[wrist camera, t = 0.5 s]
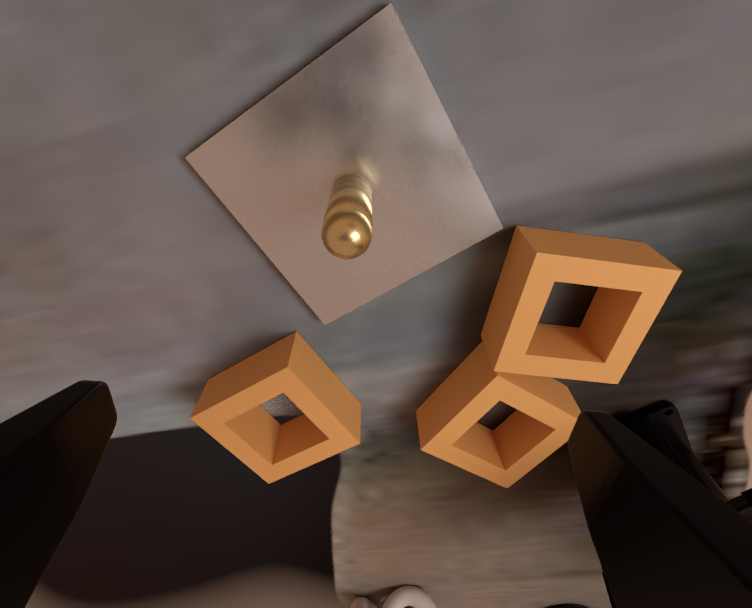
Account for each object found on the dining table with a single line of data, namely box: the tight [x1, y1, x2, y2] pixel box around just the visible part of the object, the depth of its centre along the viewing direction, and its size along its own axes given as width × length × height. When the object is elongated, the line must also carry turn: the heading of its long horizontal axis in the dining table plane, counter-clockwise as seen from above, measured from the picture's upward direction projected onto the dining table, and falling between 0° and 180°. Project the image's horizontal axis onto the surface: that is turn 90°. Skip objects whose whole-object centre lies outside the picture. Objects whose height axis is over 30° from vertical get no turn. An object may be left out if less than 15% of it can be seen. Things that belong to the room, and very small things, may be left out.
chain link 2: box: [481, 225, 682, 384], centre depth 21 cm, size 6×6×3 cm
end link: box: [190, 331, 361, 484], centre depth 25 cm, size 6×6×3 cm
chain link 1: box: [416, 341, 581, 488], centre depth 25 cm, size 6×6×3 cm
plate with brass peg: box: [185, 3, 503, 325], centre depth 17 cm, size 10×10×6 cm
